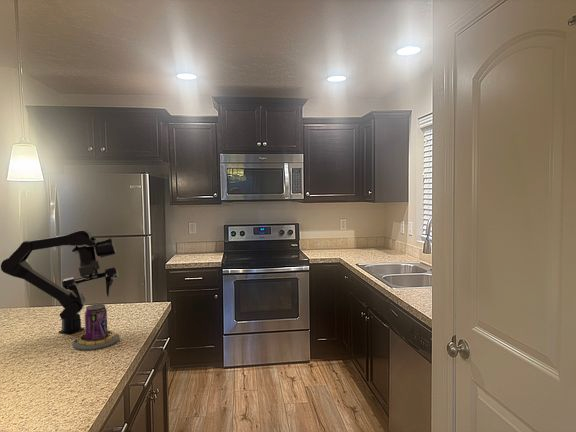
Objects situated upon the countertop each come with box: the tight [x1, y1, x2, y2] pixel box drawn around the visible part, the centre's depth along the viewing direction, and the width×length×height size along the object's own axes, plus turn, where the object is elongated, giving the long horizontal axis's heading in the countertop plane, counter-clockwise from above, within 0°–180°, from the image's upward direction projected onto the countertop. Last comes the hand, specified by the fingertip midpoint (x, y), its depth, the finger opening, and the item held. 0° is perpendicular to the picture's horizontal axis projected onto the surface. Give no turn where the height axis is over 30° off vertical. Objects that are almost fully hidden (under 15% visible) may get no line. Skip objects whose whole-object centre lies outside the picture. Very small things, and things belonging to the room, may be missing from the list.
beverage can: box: [84, 303, 108, 341], centre depth 138 cm, size 7×7×12 cm
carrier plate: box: [72, 329, 120, 352], centre depth 138 cm, size 15×15×2 cm
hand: (95, 300), depth 145 cm, fingers open, 9 cm apart
